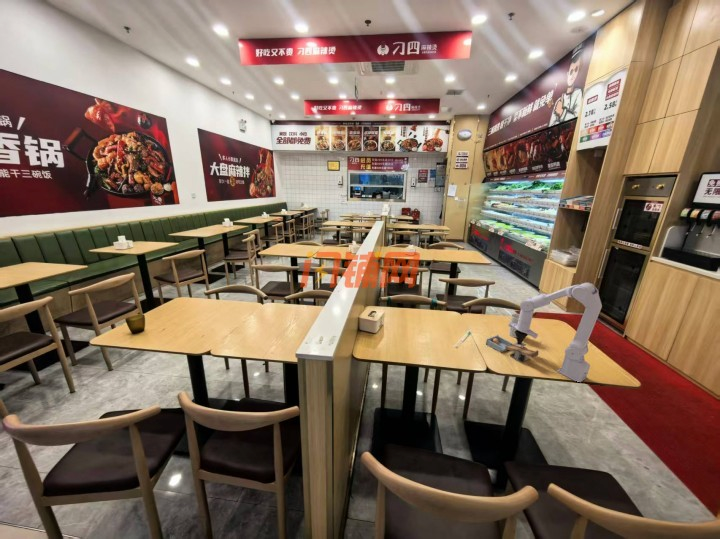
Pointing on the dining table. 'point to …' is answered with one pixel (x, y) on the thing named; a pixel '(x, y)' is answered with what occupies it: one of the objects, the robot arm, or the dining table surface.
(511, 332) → the cup
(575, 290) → the robot arm
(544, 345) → the dining table surface
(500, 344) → the tray
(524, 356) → the stand
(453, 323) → the dining table surface
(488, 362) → the dining table surface
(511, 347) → the seesaw
